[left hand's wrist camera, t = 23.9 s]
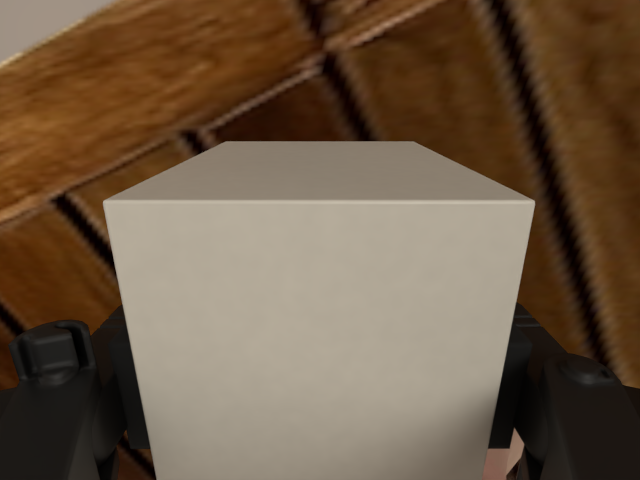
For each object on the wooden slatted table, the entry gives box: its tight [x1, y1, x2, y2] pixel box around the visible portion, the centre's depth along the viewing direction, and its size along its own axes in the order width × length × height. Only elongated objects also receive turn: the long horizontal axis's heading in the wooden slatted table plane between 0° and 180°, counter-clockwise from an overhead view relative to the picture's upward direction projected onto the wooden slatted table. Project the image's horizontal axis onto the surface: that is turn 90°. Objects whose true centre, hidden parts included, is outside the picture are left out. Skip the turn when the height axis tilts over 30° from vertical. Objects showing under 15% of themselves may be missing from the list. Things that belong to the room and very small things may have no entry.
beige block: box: [103, 142, 535, 480], centre depth 12 cm, size 9×7×8 cm
